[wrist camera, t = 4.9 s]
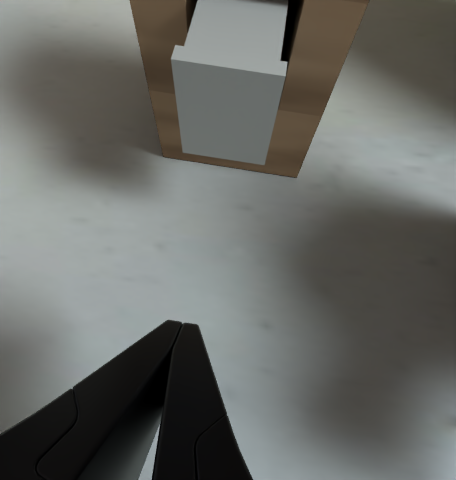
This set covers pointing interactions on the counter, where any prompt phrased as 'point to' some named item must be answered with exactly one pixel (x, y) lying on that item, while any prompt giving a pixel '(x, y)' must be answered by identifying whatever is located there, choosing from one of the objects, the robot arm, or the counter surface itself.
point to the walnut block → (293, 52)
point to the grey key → (230, 78)
